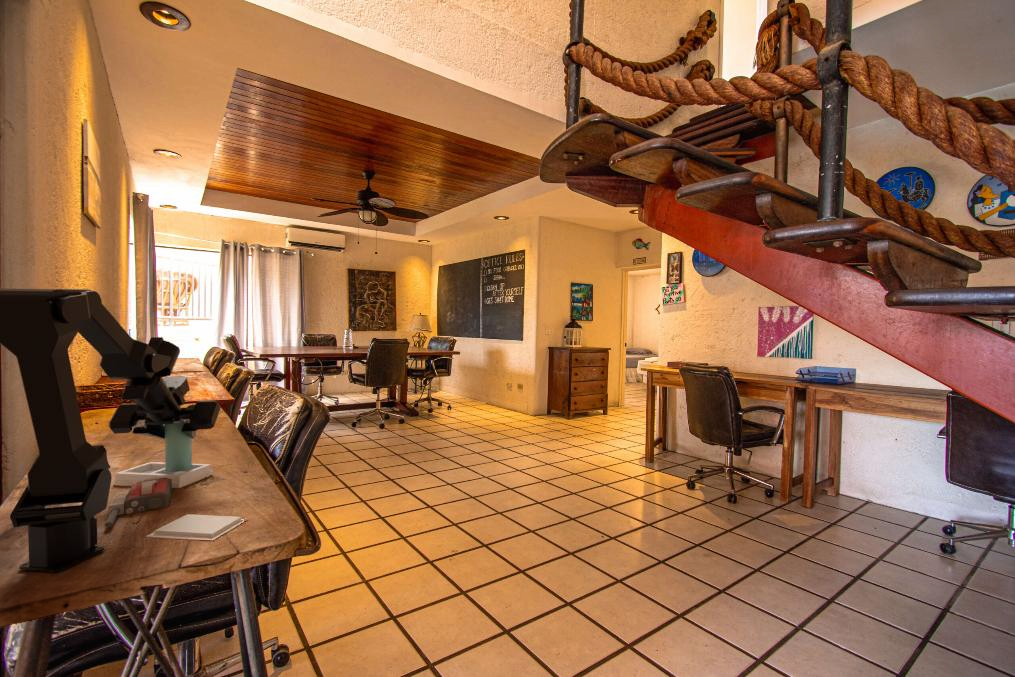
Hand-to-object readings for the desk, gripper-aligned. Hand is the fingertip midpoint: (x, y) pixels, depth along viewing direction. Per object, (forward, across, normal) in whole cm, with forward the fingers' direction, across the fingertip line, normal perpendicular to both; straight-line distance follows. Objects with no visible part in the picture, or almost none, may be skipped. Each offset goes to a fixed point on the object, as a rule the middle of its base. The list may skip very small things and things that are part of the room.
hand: (181, 437), depth 100 cm
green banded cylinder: (+4, 0, +6) cm, 7 cm away
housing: (+7, +4, +6) cm, 10 cm away
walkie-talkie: (-5, -1, +19) cm, 20 cm away
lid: (-14, -16, +28) cm, 35 cm away
